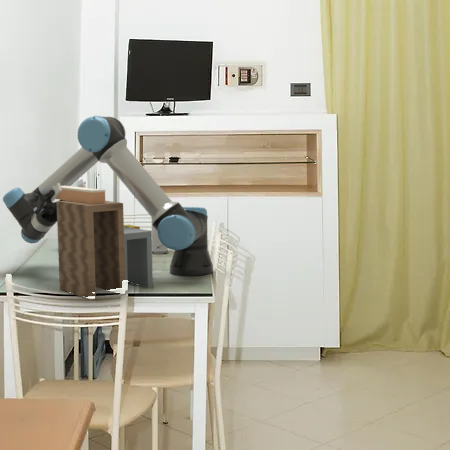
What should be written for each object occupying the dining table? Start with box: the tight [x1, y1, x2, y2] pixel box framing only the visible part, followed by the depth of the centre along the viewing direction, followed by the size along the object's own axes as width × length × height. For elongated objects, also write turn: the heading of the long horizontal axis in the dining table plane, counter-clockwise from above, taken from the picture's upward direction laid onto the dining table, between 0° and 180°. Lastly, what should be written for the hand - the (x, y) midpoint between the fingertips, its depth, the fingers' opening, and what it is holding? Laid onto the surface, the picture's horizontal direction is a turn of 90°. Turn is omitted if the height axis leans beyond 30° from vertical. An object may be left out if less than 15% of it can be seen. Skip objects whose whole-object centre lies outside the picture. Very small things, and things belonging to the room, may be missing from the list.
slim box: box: [53, 185, 106, 204], centre depth 237 cm, size 26×5×4 cm, turn 39°
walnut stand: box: [56, 200, 125, 297], centre depth 234 cm, size 20×12×28 cm, turn 39°
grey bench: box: [124, 226, 154, 288], centre depth 245 cm, size 18×11×18 cm, turn 39°
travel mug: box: [151, 224, 169, 255], centre depth 309 cm, size 6×7×20 cm
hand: (72, 186), depth 240 cm, fingers open, 8 cm apart
